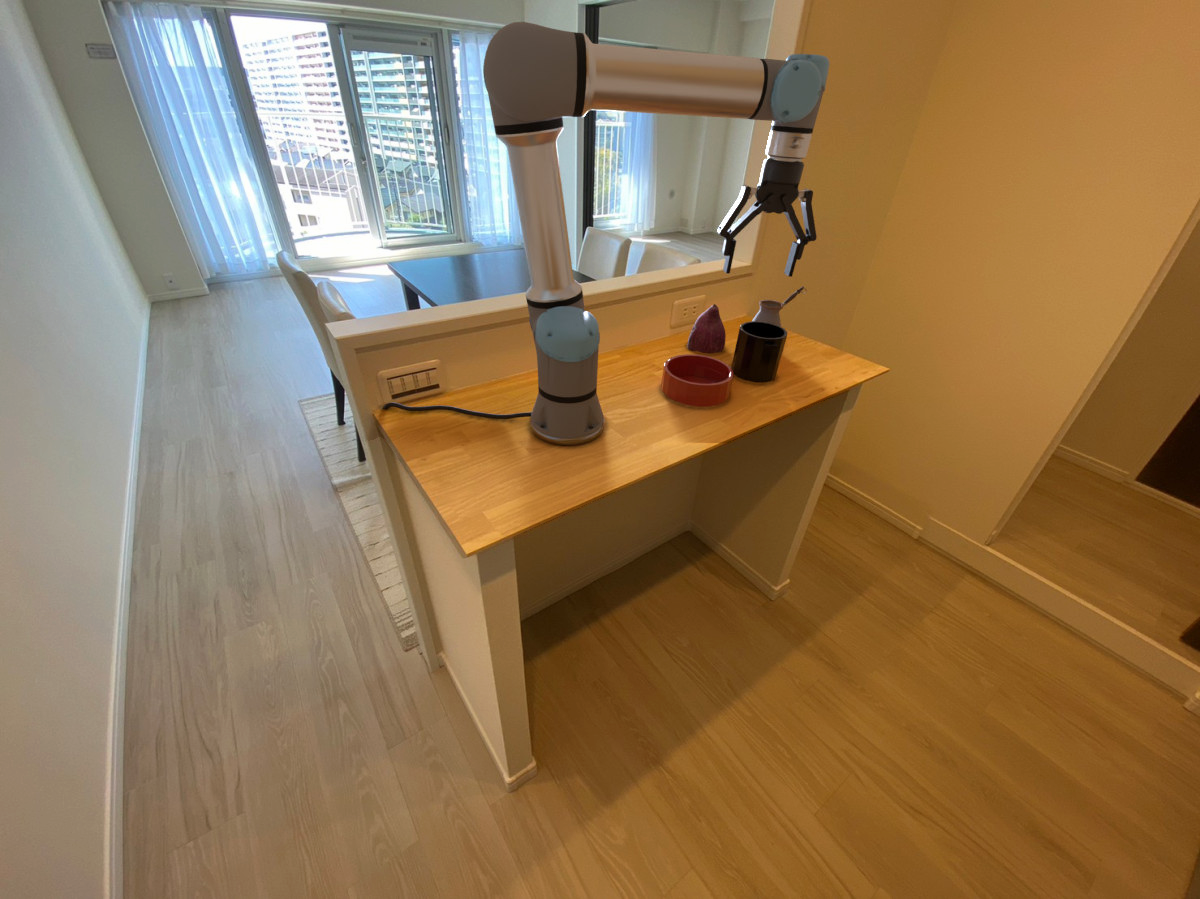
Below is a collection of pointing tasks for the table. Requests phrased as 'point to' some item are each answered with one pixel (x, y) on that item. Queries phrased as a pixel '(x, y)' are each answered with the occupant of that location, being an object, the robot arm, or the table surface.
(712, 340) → the vegetable
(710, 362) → the casserole
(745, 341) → the black cylindrical cup
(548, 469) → the table surface
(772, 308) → the coffee pot
